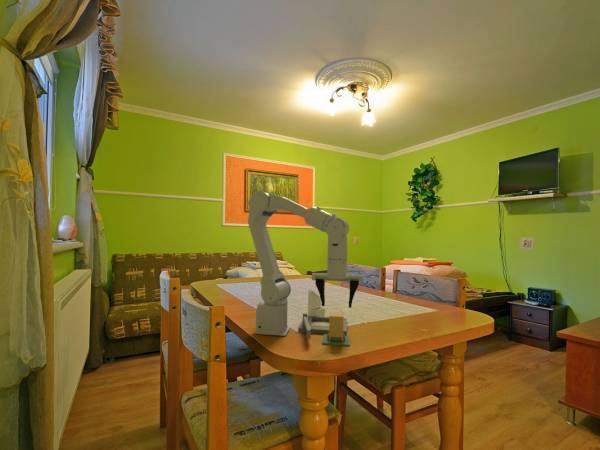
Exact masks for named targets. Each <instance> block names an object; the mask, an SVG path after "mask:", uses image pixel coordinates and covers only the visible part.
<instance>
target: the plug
mask: <svg viewBox="0 0 600 450" xmlns="http://www.w3.org/2000/svg"><path fill="white" fill-rule="evenodd" d="M344 316H345V315H344V312H333V311H332V312H330V311H329V321H328V323H329V324H328V326H329V333H328V334H327V339H328V340H329V341H332V342H343V341H345V336H346V335H345V334H344V333H343V320H344Z"/></svg>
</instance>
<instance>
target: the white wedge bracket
mask: <svg viewBox="0 0 600 450" xmlns="http://www.w3.org/2000/svg"><path fill="white" fill-rule="evenodd" d="M307 292H308V293H307V295H308V296H307V297H308V298H307V316H317V317H326V314H325V313H326V308H325V307H324V306H322V302H321V297H320V295H319V294H317V293H316V292H315V291H313V290H308V291H307Z"/></svg>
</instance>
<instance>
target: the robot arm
mask: <svg viewBox="0 0 600 450" xmlns="http://www.w3.org/2000/svg"><path fill="white" fill-rule="evenodd" d="M247 204H248V207H249V209H248V217H247V218H248V220H247V222H248V227H249V231H250V234H251V238H252V241H253V245H254V249H255V252H256V255H257V259H258V262H259V265H260V270H261V273H262V276H261V279H260V286H261V290H260V297H261V299H262V301H259V302H258V303H257V306H256V312H255V332H254V334H255V335H267V336H279V337H280V336H281V337H284V336H285V337H286V336H287V335H288V332H289V330H290V329H291V326H290V325H288V307H289V306H288V303H289V302H288V297H289V296H290V294H291V292H292V288H291V284H290V283H289V282H288V280H287V279H286V277H285V273H283V272H282V271H281V270H280V269H279V268H280V267H279V265H278V260H277V257H276V254H275V251H274V247H273V244H272V241H271V237H270V234H269V230H268V227H267V223H268V221H269V219H270V218H271V217H272V216H273V215H274V214H275V213H276V212H278V211H283V210H285V211H287V212H289V213H292V214H294V215H296V216H298V217H301V218H303V219H304V222H305V224H306V225H307V226H310V227H312V228H314V229H316V230H319V231H320V232H323V233H326V235H327V257H326V259H327V263H326V264H327V265H326V266H327V267H326V272H312V273H311V281H315V286H316V289H317V291H318V293H319V294H318V295H319V296H320V297H321V307H325V304H326V297H325V285H326V281H328V282H329V281H332V282H349V298H348V308H352V305H353V301H354V300H353V299H354V297H355V294H356V291H357V290H358V288H359V286H360V283H363V281H364V280H363V274H355V273H354V274H353V273H352V274H351V273H348V234H349V231H350V225H349V223H348V222H347V220H345V219H344V218H343V217H337V214H335V213H332V214H331V213H329V212H326V211H324V210H323V208H322V207H320V206H317V207H315V206H311V207H310V208H308V207H305V206H303V205H301V204H300V203H298V202H295V201H293V200H291V199H290V198H287V197H284V196H281V195H277V194H273V193H270V192H265V191H264V190H257V191H255V192H253V193H252V195H251V196H250V198H249V199H248V201H247Z"/></svg>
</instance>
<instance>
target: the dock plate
mask: <svg viewBox="0 0 600 450" xmlns="http://www.w3.org/2000/svg"><path fill="white" fill-rule="evenodd" d="M307 318H308V322H309V325H310V329H311V334H319V333H321V334H323V335H324V334H328V333H329V325H317V324H312V323H313V321H316V322H329V317H327V316H324V317H317V316H308V315H307ZM347 326H348V319H347V317H346V318H344V320H343V333H344V334H345V336H348V335H347V334H348V333H347V332H348V331H347V330H348V329H347V328H348V327H347ZM297 332H298V333H306V332H305V328H304V324H303V319H302V320H301V322H300V323H299V326H298V328H297Z"/></svg>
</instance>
